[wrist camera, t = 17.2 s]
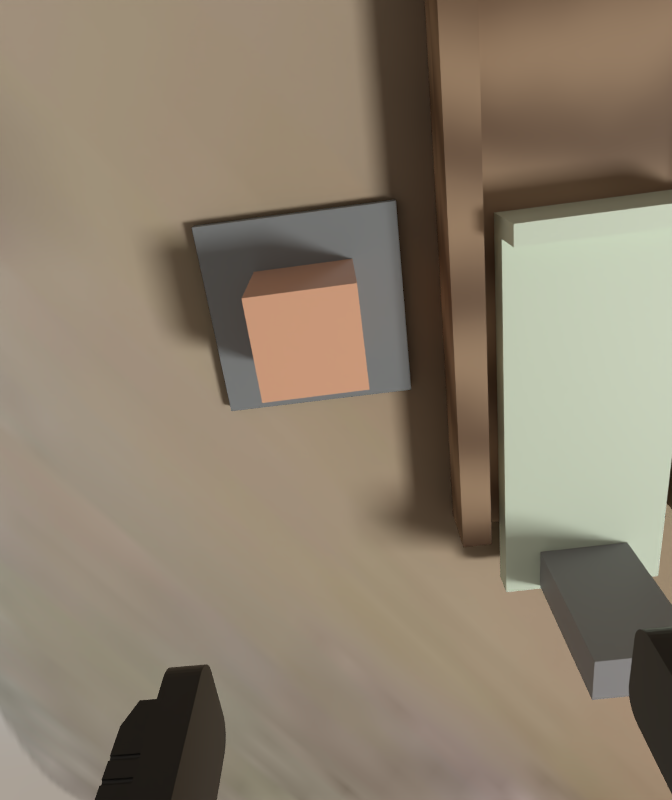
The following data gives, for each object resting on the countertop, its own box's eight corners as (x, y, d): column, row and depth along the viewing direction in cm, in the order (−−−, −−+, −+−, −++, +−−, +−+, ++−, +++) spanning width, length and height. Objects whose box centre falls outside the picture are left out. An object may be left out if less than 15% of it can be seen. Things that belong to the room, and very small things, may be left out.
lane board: (419, -81, 26) (431, -106, 23) (762, -133, 25) (820, -165, 22) (453, 514, 38) (463, 547, 35) (683, 488, 38) (712, 519, 35)
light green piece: (493, 212, 29) (562, 252, 21) (686, 187, 29) (836, 217, 21) (500, 576, 39) (550, 707, 30) (646, 560, 38) (739, 688, 30)
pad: (194, 225, 31) (191, 227, 30) (394, 199, 30) (395, 200, 30) (232, 406, 35) (231, 410, 34) (409, 385, 35) (411, 389, 34)
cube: (253, 271, 31) (241, 298, 27) (352, 258, 31) (357, 282, 26) (270, 363, 33) (262, 403, 29) (363, 351, 33) (369, 389, 29)
